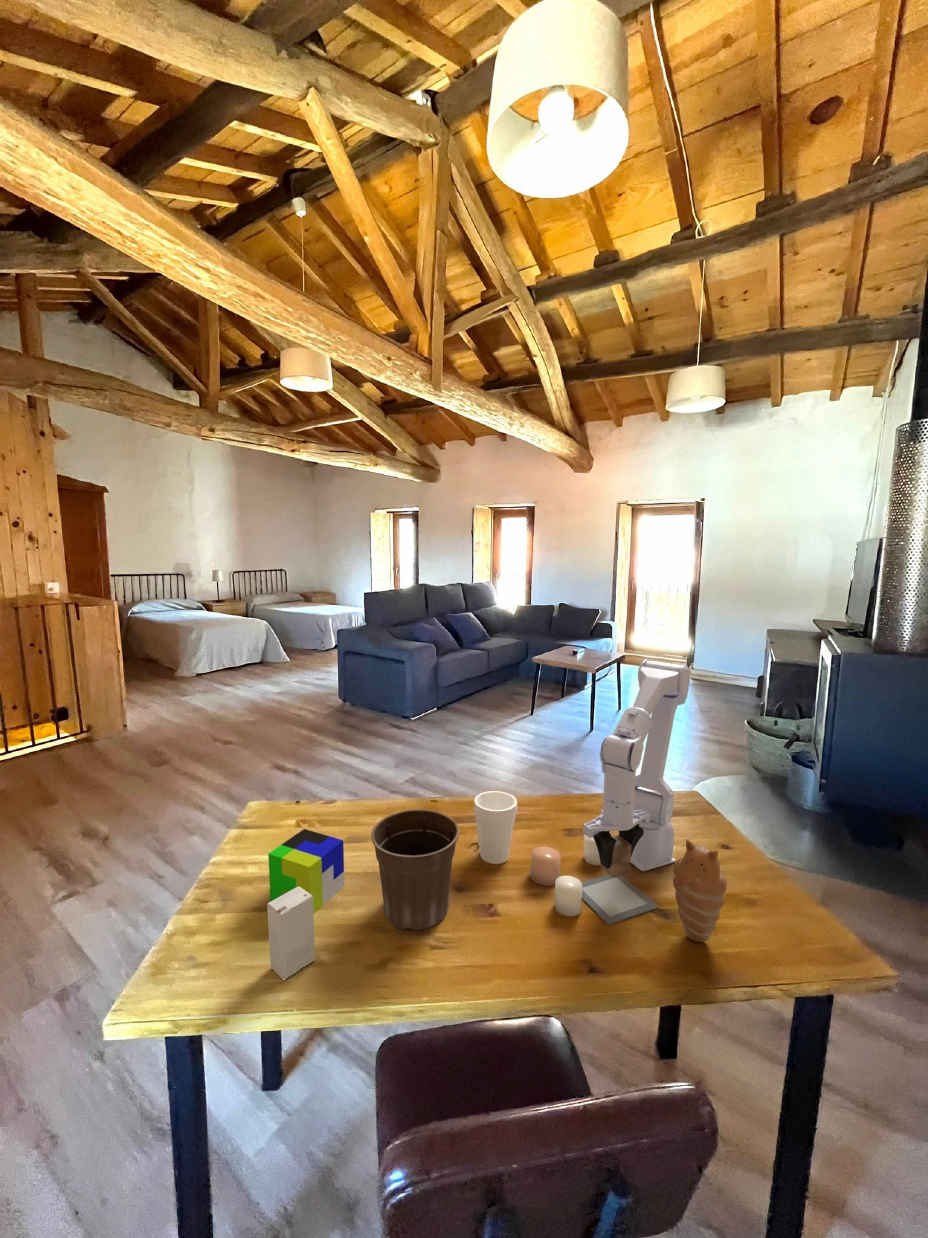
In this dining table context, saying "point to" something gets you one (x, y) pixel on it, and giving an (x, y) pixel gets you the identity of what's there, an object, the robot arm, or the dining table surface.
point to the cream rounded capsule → (568, 895)
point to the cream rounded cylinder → (591, 851)
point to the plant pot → (415, 866)
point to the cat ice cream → (699, 890)
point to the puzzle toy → (308, 866)
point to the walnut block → (619, 858)
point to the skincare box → (291, 932)
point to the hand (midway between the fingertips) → (615, 863)
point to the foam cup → (495, 824)
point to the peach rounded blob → (545, 865)
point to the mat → (615, 898)
